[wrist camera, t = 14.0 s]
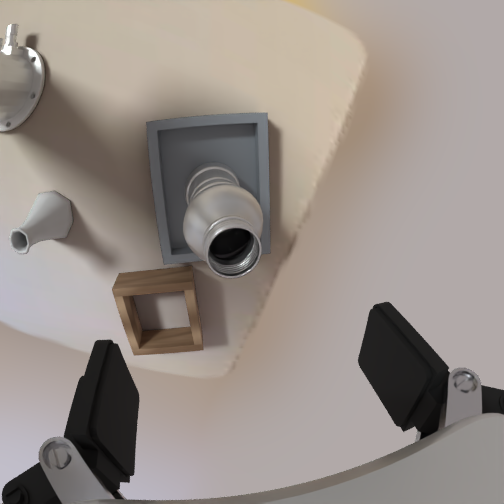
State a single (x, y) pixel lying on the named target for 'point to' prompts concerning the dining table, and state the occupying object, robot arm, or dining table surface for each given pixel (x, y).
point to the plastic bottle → (222, 221)
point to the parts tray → (196, 154)
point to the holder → (151, 284)
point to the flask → (43, 222)
